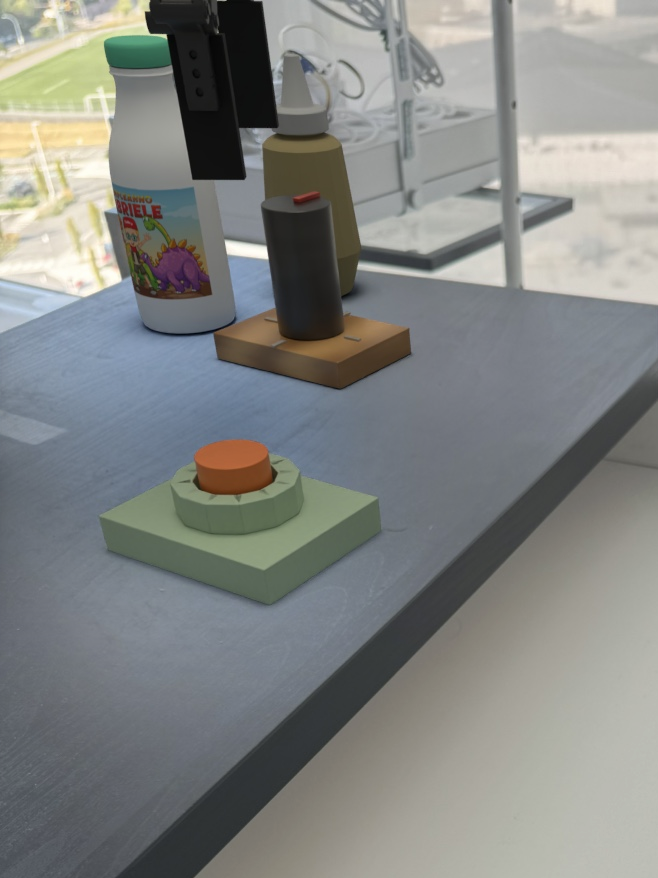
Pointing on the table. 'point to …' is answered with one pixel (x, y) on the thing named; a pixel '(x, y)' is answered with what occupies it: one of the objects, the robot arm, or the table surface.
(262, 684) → the table surface
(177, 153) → the milk bottle
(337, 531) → the green button base
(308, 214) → the knob
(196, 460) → the push button
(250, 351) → the panel
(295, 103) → the squeeze bottle
